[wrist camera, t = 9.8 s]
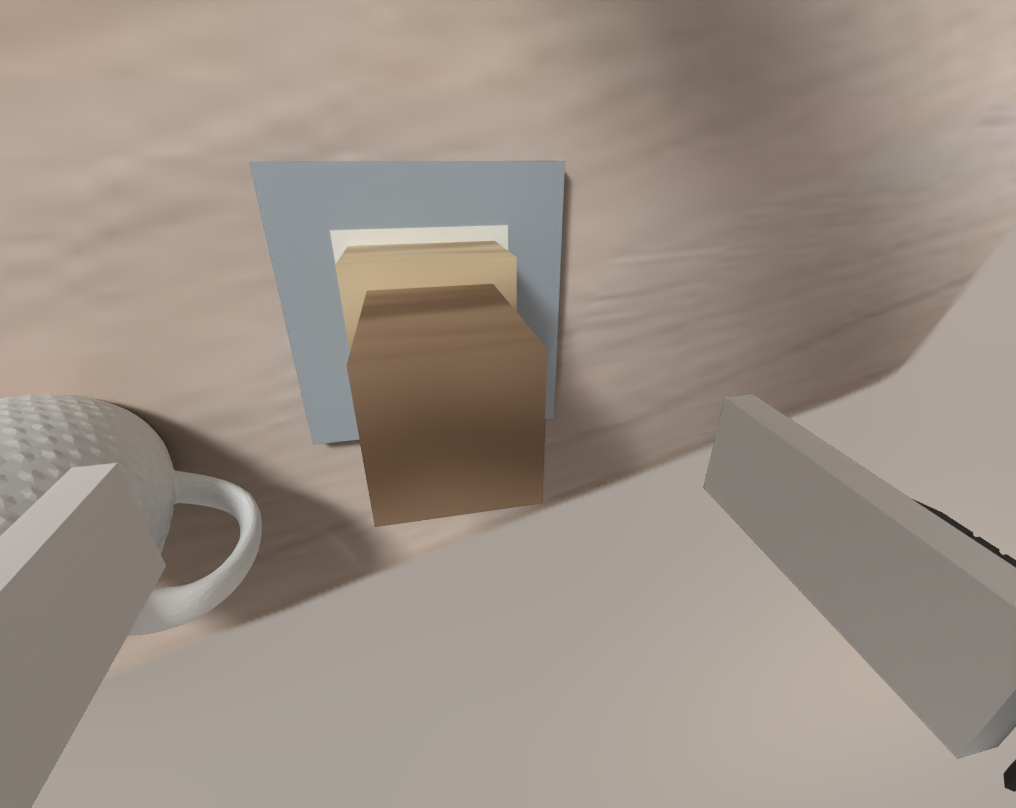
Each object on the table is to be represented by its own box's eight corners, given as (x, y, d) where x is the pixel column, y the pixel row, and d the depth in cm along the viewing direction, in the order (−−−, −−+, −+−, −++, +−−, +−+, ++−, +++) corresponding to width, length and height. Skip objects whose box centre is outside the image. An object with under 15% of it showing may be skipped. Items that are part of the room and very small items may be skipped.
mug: (293, 385, 25) (207, 561, 14) (282, 542, 30) (208, 774, 18) (-62, 337, 21) (-603, 533, 10) (-16, 528, 25) (-355, 821, 14)
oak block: (348, 245, 22) (335, 264, 18) (494, 240, 23) (516, 257, 19) (368, 382, 25) (362, 426, 21) (496, 371, 26) (516, 411, 22)
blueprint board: (255, 162, 21) (248, 162, 20) (558, 161, 23) (565, 161, 22) (315, 435, 27) (312, 445, 26) (549, 411, 30) (554, 419, 29)
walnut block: (366, 290, 18) (346, 365, 11) (492, 283, 19) (547, 349, 12) (383, 405, 20) (375, 527, 13) (495, 394, 21) (542, 503, 14)
